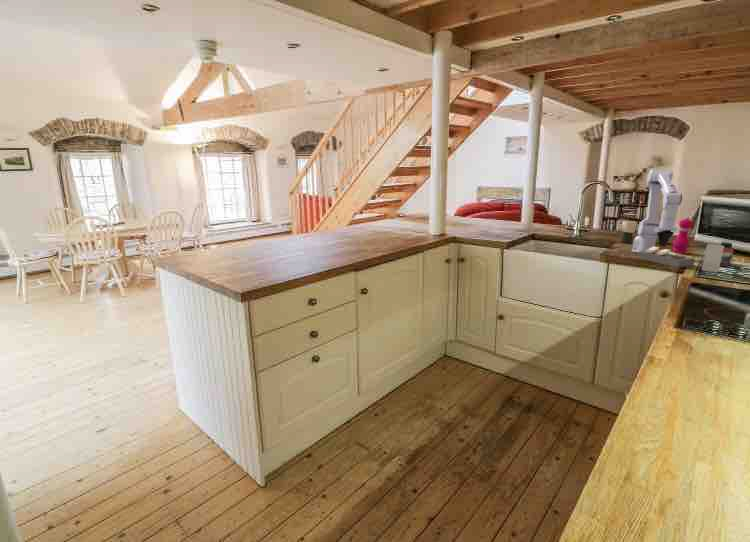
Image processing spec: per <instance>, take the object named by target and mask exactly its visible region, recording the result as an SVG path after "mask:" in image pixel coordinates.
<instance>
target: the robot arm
mask: <svg viewBox="0 0 750 542" xmlns="http://www.w3.org/2000/svg"><path fill="white" fill-rule="evenodd" d="M673 176H674V172H673V170H671V169H650V170H649V171H648V174H647V175H646V177H647V178H646V187H647V188H649V192H648V200H647V201H648V202H647V209H646V216H645V217H646V218H645V219H642V220H641V221H640V222H639V224H638V225H639V228H638V230H637V236H635V238H634V241H633V244H632V249H631V252H632V253H636V252H637V254H638V251H646V250H647V249H649V248H651V247H653V246H654V247H656V243H655V242H656V238H658V237H659V243H658V247H659V246H660V247H666V245H667V244H668V242H669V240H670V239H671V237H672V236H673V235H674V233H675V232H677V230H678V226H675V223H676V218H677V215H678V214H677V213H678V208H679V206H681V204H682V201H683V193H682V192H678V190H677V187H676V186H675V184H674V183H672V182H671V181H672V180H673ZM661 193H662V196H663V197H662V207H661V208H662V212H661V216H660V220H659V219H658V213H659V204H660V198H661Z"/></svg>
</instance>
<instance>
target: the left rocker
mask: <svg viewBox="0 0 750 542" xmlns="http://www.w3.org/2000/svg"><path fill="white" fill-rule="evenodd" d="M655 251H660V247H659V246H655V247H654V246H653V247H651V248H649V249H647V250H646V252H648V253H653V252H655Z"/></svg>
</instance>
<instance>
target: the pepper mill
mask: <svg viewBox="0 0 750 542" xmlns="http://www.w3.org/2000/svg"><path fill="white" fill-rule="evenodd" d="M693 225H694V224H693V220H691V219H690V216H688V215H687V216H685V217H684V219H681V220H679V223H678V226H679V229H678V231H679V232H678V236H677V237H676V238H675V239H674V240H673V243H672V245H673V247H674V248H673V249H672V252H673V251H674V253H675V252H678V253H677V254H682V253H684V254H687V251H688V250H687V249H688V248H689V247H690V240H689V236H688V235H689V232H691V228H692V227H693Z"/></svg>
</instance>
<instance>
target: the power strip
mask: <svg viewBox="0 0 750 542" xmlns="http://www.w3.org/2000/svg"><path fill="white" fill-rule="evenodd" d="M658 251H659V250H657V251H655V252H653V253H648V252H646V251H638V253H637V257H640V258H643V259H646V260H645V261H647V260H650V261H649V262H652V261H653V262H652V263H655V264H656V263H657V264H662V265H665V266H671V267H673V268H677V269H679V268H684V267H685V268H686V267H693V266H694V264H695V261H696V259H695V257H691V256H690V257H689V256H685V255H682V257H678V256H674V255H671V254H669V253H667V254H664V255H660V254H657V252H658ZM637 257H636V258H637ZM643 259H642V260H643Z"/></svg>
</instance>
